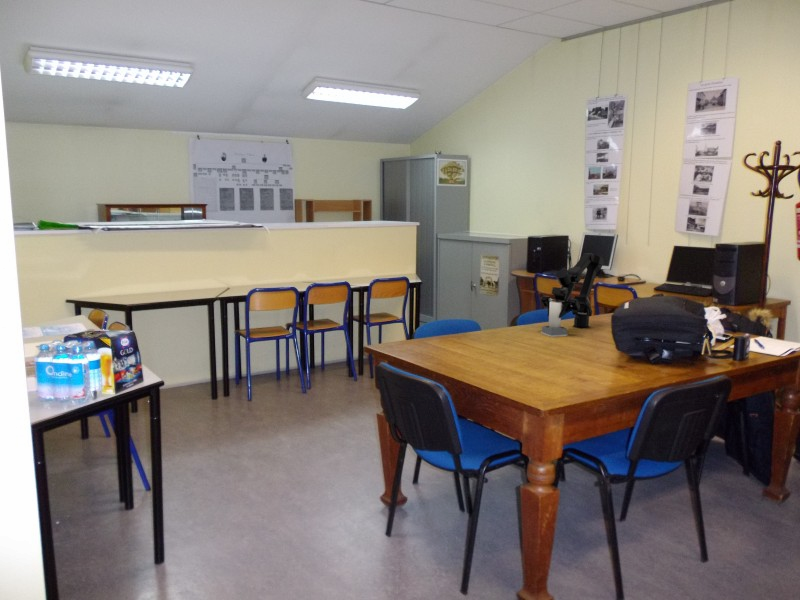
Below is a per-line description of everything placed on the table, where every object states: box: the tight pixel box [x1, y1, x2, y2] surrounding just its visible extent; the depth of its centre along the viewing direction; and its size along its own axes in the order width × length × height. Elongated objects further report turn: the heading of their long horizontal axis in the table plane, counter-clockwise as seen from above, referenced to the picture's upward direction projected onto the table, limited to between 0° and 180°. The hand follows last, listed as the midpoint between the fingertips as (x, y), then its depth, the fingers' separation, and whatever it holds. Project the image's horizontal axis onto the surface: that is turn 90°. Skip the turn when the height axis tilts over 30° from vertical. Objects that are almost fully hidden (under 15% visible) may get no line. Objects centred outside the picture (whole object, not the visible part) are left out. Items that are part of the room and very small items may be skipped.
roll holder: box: [540, 325, 568, 338], centre depth 317 cm, size 9×9×4 cm
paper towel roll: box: [548, 301, 563, 329], centre depth 316 cm, size 6×6×14 cm
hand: (553, 316), depth 315 cm, fingers closed on paper towel roll, 5 cm apart
